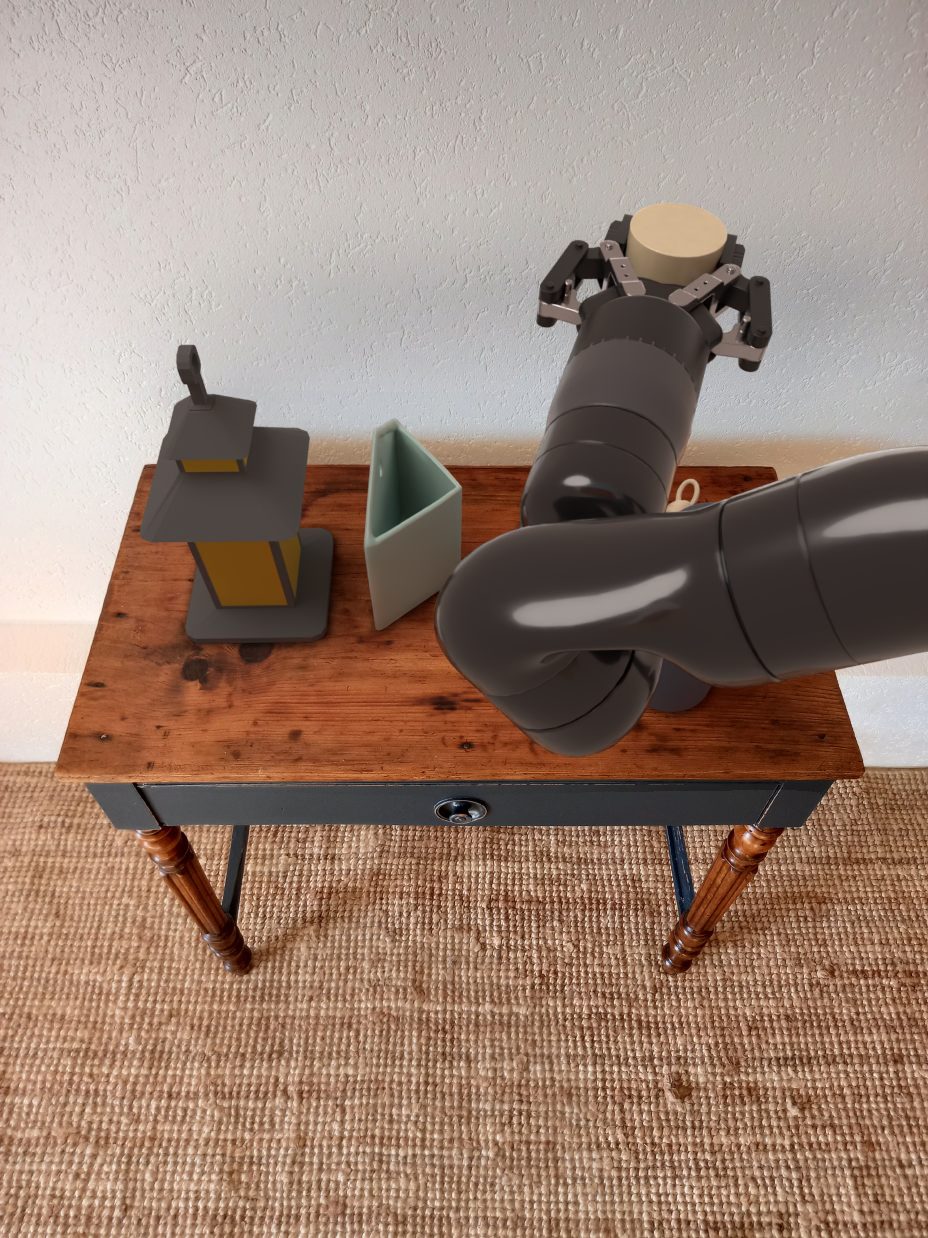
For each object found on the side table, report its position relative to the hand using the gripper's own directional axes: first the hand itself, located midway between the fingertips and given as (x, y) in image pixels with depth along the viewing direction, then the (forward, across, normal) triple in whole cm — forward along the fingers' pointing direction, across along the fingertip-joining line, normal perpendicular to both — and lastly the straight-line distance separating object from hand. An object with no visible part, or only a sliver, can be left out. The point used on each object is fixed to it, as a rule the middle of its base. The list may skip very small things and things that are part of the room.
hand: (676, 237), depth 52 cm
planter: (-4, +17, +39) cm, 43 cm away
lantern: (-11, +33, +39) cm, 52 cm away
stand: (-8, -10, +39) cm, 41 cm away
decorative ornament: (+9, -7, +39) cm, 41 cm away
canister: (-2, 0, +7) cm, 7 cm away
